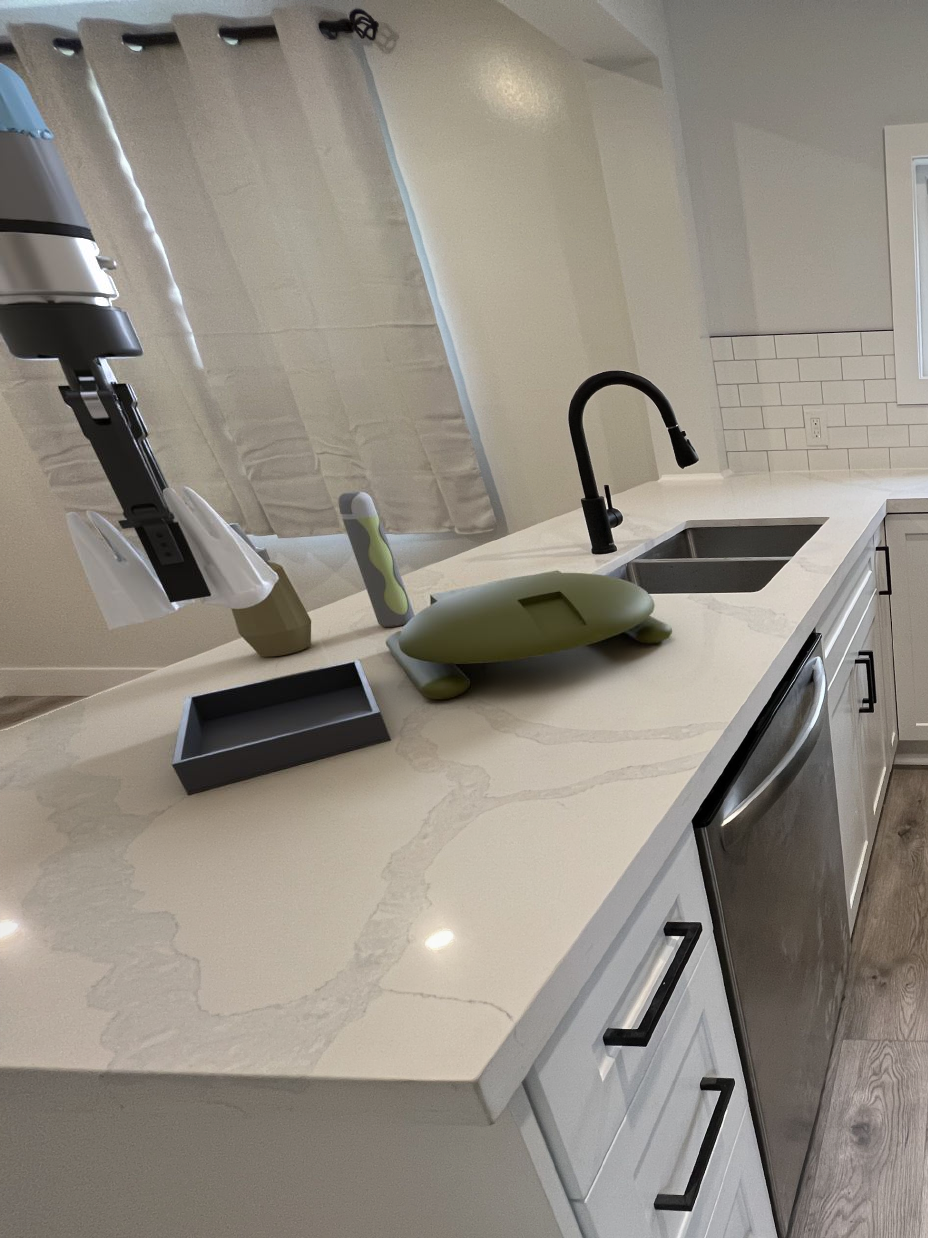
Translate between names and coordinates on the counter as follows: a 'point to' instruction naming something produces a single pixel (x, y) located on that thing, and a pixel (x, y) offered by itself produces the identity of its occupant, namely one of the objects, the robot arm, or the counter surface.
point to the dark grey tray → (275, 725)
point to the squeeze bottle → (274, 614)
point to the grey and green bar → (375, 559)
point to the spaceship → (518, 624)
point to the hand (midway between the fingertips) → (191, 592)
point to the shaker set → (133, 582)
